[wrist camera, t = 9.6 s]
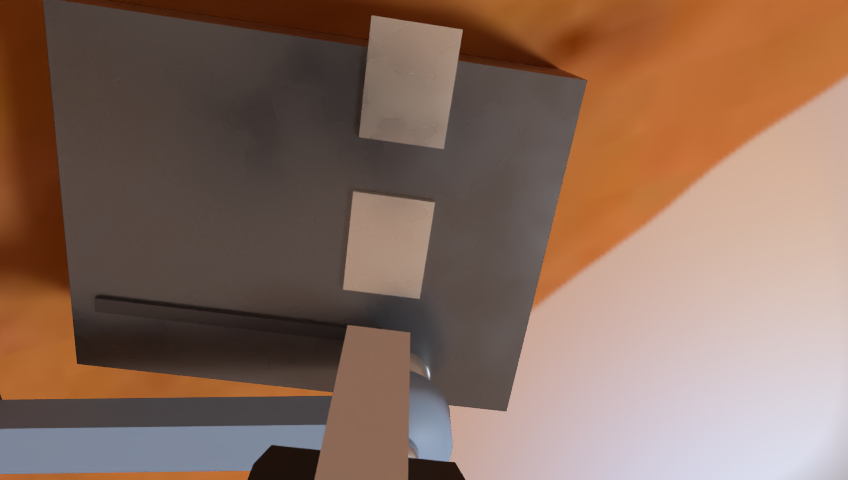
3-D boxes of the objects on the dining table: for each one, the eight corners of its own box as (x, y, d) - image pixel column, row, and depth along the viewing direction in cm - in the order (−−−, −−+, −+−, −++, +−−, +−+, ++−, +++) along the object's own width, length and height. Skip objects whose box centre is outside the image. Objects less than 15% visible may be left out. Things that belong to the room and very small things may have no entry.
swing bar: (449, 361, 21) (453, 402, 19) (448, 454, 23) (452, 501, 21) (-32, 366, 21) (-84, 408, 19) (1, 459, 23) (-43, 508, 21)
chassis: (123, 324, 27) (-4, 462, 19) (103, -29, 22) (-92, -53, 13) (492, 367, 29) (524, 514, 20) (565, 43, 23) (651, 62, 15)
